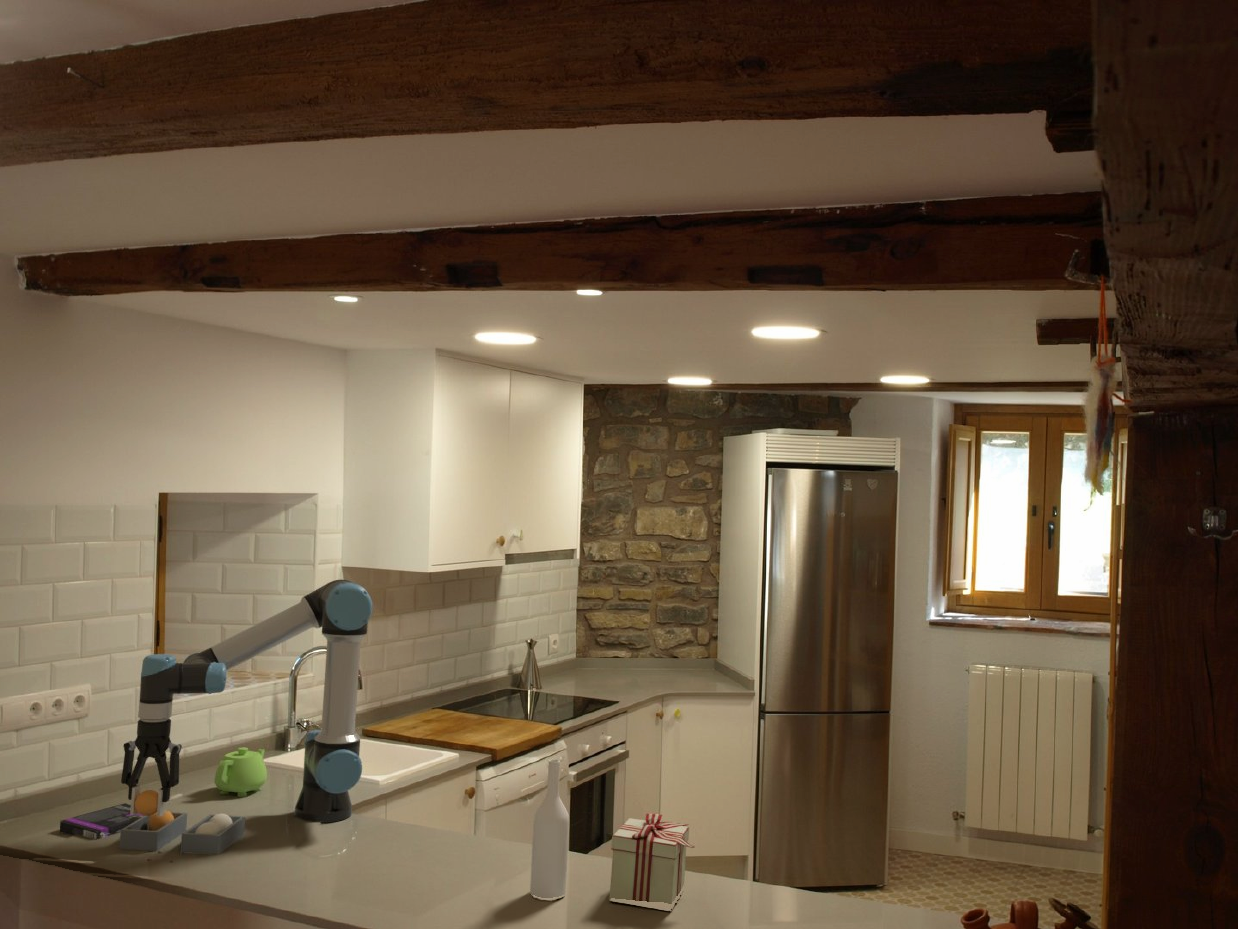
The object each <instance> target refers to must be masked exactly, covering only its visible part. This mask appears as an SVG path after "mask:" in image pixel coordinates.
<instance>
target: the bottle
mask: <svg viewBox="0 0 1238 929" xmlns="http://www.w3.org/2000/svg"><path fill="white" fill-rule="evenodd" d="M547 767H548V768H547V785H546V794H545V795H546V796H545V797H544V798H543V801H542V802H541V803H540V805H539V806H538V807H537V809H536V811H535V813H534V816H533V824H532V825H533V826H532V828H533V829H532V844H531V847H532V848H531V864H530V865H531V868H530V889H529V894H530V893H531V894H532V895H535V896H537V897H541V898H553V897H559V896H562V895H564V894H565V893H567V876H568V875H567V874H568V858H569V857H568V856H569V855H568V853H569V837H570V834H569V833H570V815H569V812H568V811H567V808H566V806H565V805H564V803H563V801H562V799H561V797H560V772H561V761H560V760H559V759H554V758H553V759H550V760H548V765H547Z"/></svg>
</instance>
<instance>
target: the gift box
mask: <svg viewBox="0 0 1238 929" xmlns="http://www.w3.org/2000/svg"><path fill="white" fill-rule="evenodd" d="M662 817H663V814H657V813H646V814H645V820H644V819H637V818H631V817H628V818H627V819H626V820H625V822H624V823H623V824H622V825H621V826H620V827H619V828H618V829H617V831H615V833H614V834H613V835H612V836H611V848H610V849H611V850H612V855H611V856H612V857H611V859H612V860H611V861H612V862H611V871H610V872H611V873H610V875H611V876H610V886H609V899H610V898H615V899H626V900H635V901H647V902H664V903H668V904H672V902H673V901H674V900H675V898H676V896H678V894H679V893H680V891H681V889H682V887H683V885H684V886H685V874H686V861H687V860H686V856H687V847H688V848H690V849H694V848H696V846H695V845H693V844H692V845H691V844H690V843H689V842H688V841H689V833H690V827H688V826H689V824H684V823H678V822H674V821H661V820H662Z"/></svg>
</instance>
